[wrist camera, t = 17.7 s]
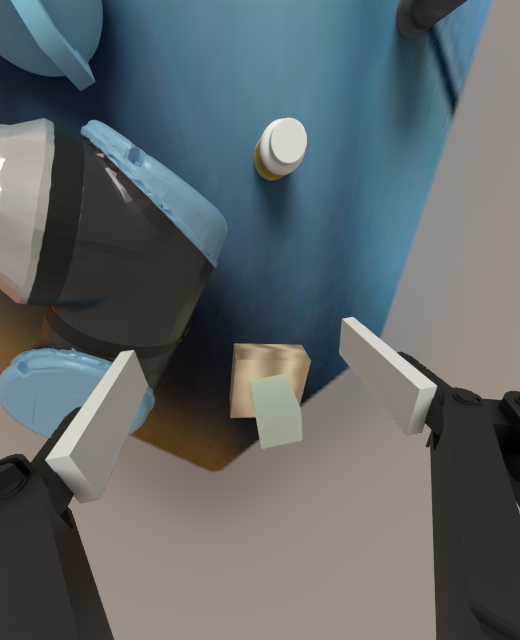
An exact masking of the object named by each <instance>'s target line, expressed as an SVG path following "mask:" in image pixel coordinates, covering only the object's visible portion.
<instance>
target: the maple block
mask: <svg viewBox="0 0 520 640" xmlns="http://www.w3.org/2000/svg"><path fill="white" fill-rule="evenodd" d="M310 362H311V360H310V359H309V357H308V355H307V353H306V352H305V350H304V348H303V347H302V345H278V344H234V351H233V364H232V376H231V388H230V415H231V418H243V417H256V414H255V408H254V402H253V396H252V390H251V384H250V380H254V379H260V378H265V377H270V376H276V375H281V374H287V376H288V379H289V381H290V384H291V386H292V389H293V391H294V394H295V396H296V399H297V401H298V404H299V406H300V402H301V398H302V394H303V390H304V386H305V382H306V378H307V374H308V370H309V366H310Z"/></svg>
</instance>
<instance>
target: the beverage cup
mask: <svg viewBox="0 0 520 640" xmlns="http://www.w3.org/2000/svg"><path fill="white" fill-rule="evenodd" d="M466 1H467V0H400V2H399V5H398V9H397V15H396V16H397V26H398V30H399V31H400V33H401V35H402V36H404V37H405V38H414V37H416V36H417V35H419V34H420V33H422V32H423V31H425V30H427V29H428V28H430V27H431V26H433V25H434V24H435V23H437V22H438V21H439V20H441V19H442V18H444V17H445V16H446V15H448V14H449V13H451V12H452V11H453V10H455V9H456V8H457V7H459V6H460V5H462V4H463V3H464V2H466Z"/></svg>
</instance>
